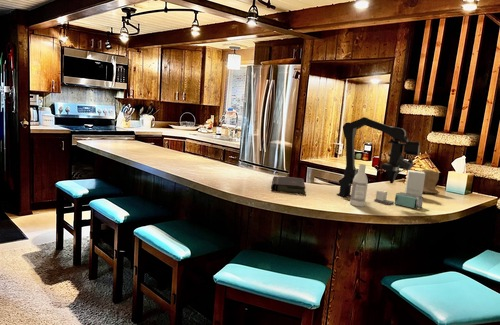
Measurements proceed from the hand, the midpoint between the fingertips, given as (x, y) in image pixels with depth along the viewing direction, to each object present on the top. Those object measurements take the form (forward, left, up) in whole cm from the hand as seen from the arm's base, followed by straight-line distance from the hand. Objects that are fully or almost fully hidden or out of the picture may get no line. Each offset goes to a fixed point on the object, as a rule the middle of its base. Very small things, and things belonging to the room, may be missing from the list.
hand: (391, 183), depth 193 cm
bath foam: (-19, +8, -11) cm, 23 cm away
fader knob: (+3, +5, -10) cm, 12 cm away
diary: (-22, +48, -12) cm, 54 cm away
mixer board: (+3, +4, -11) cm, 12 cm away
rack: (+9, -6, -11) cm, 16 cm away
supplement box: (+40, +2, -11) cm, 42 cm away
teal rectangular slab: (+4, -6, -11) cm, 13 cm away
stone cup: (+64, +4, -11) cm, 65 cm away
